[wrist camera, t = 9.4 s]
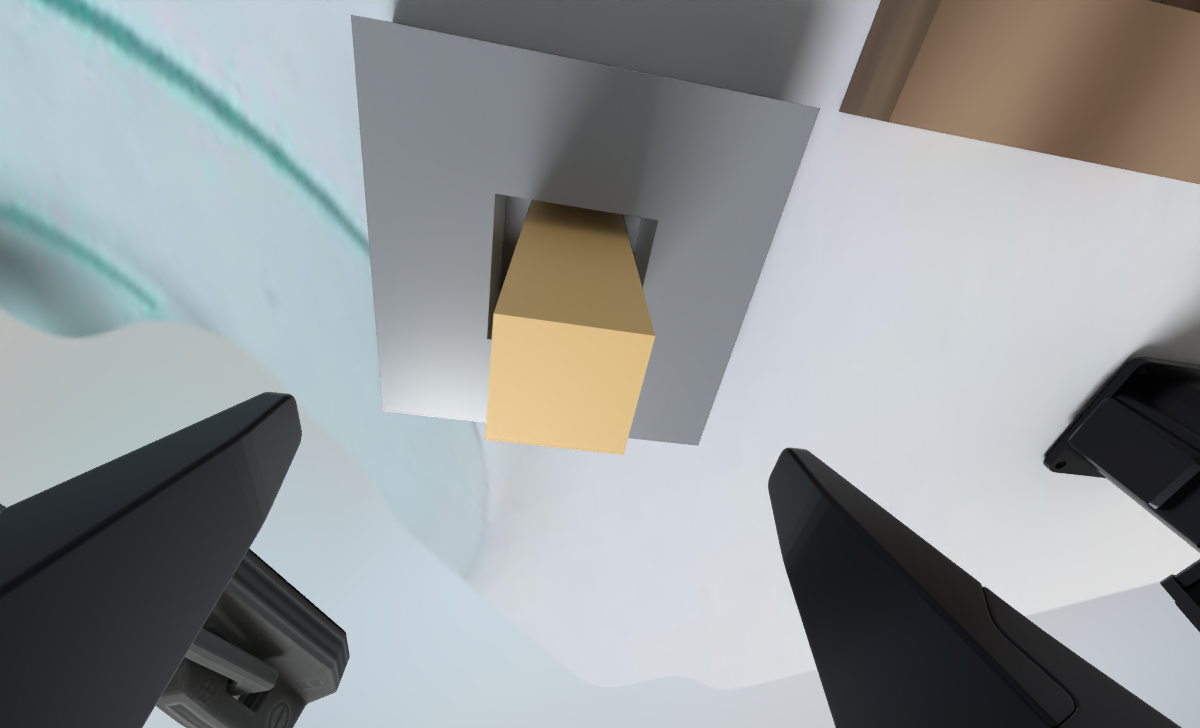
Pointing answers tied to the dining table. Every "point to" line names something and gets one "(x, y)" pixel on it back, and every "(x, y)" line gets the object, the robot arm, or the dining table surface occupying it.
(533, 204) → the ochre pin
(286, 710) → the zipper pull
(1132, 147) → the walnut mount
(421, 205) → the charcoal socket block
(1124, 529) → the dining table surface
